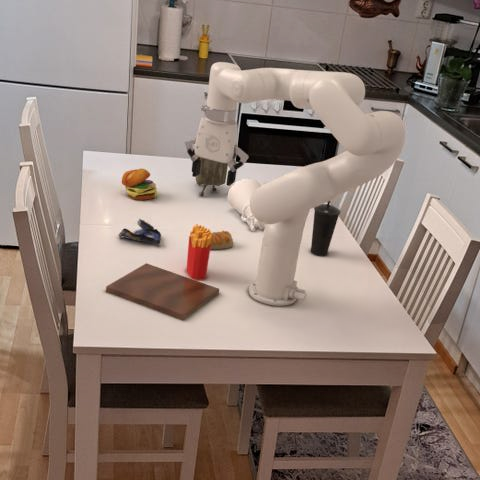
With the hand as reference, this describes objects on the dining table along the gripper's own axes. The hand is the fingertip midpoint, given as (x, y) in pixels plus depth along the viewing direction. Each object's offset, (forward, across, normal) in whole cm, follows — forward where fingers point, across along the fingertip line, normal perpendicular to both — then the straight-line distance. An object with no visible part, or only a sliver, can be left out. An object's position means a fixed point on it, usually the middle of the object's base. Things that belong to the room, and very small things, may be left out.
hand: (212, 179), depth 208 cm
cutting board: (+24, -1, -22) cm, 33 cm away
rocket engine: (+24, -3, +38) cm, 46 cm away
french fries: (+24, +1, -7) cm, 25 cm away
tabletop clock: (+24, -23, +54) cm, 64 cm away
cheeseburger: (+24, -38, +34) cm, 57 cm away
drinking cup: (+24, +24, +29) cm, 45 cm away
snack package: (+24, -21, +4) cm, 32 cm away
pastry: (+24, -2, +14) cm, 28 cm away
